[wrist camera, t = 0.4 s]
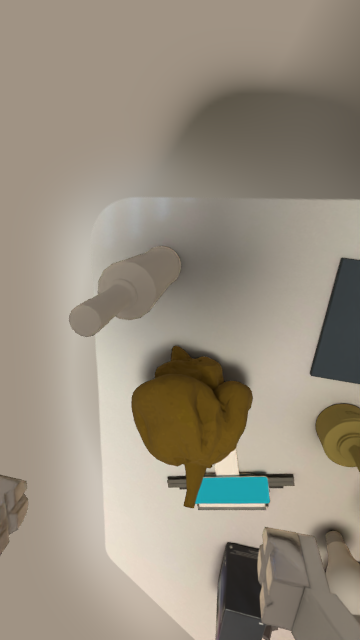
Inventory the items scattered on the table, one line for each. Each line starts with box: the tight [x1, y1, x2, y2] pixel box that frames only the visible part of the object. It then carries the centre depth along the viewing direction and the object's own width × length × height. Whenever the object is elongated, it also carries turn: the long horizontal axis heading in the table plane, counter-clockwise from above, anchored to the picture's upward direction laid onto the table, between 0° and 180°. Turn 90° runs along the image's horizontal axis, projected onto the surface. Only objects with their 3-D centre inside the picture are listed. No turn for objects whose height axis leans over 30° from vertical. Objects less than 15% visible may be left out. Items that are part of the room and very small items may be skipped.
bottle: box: [69, 246, 181, 337], centre depth 32 cm, size 5×5×25 cm
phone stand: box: [167, 449, 294, 510], centre depth 51 cm, size 20×12×2 cm, turn 99°
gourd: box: [132, 346, 253, 508], centre depth 41 cm, size 14×14×14 cm
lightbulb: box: [325, 531, 360, 615], centre depth 47 cm, size 6×6×11 cm
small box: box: [216, 543, 266, 640], centre depth 53 cm, size 11×6×10 cm, turn 173°
